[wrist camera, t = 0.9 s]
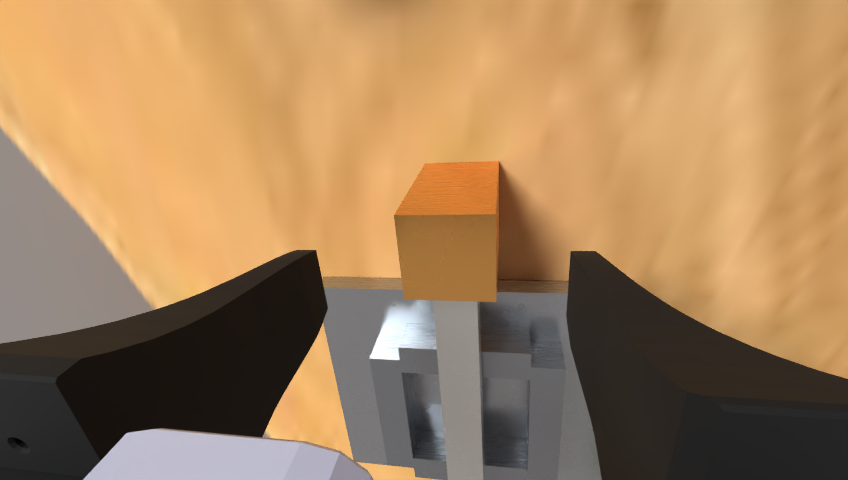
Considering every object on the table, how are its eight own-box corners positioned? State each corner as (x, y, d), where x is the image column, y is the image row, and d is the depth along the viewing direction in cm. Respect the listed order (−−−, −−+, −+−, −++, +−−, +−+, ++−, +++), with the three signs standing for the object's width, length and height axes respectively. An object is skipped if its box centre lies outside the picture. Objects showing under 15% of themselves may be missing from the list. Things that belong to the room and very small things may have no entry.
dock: (629, 282, 19) (648, 321, 16) (602, 470, 24) (613, 522, 21) (323, 277, 21) (299, 309, 19) (359, 447, 26) (343, 490, 24)
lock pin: (498, 161, 17) (495, 214, 12) (500, 423, 23) (499, 526, 19) (424, 164, 18) (393, 215, 13) (445, 418, 24) (430, 517, 19)
